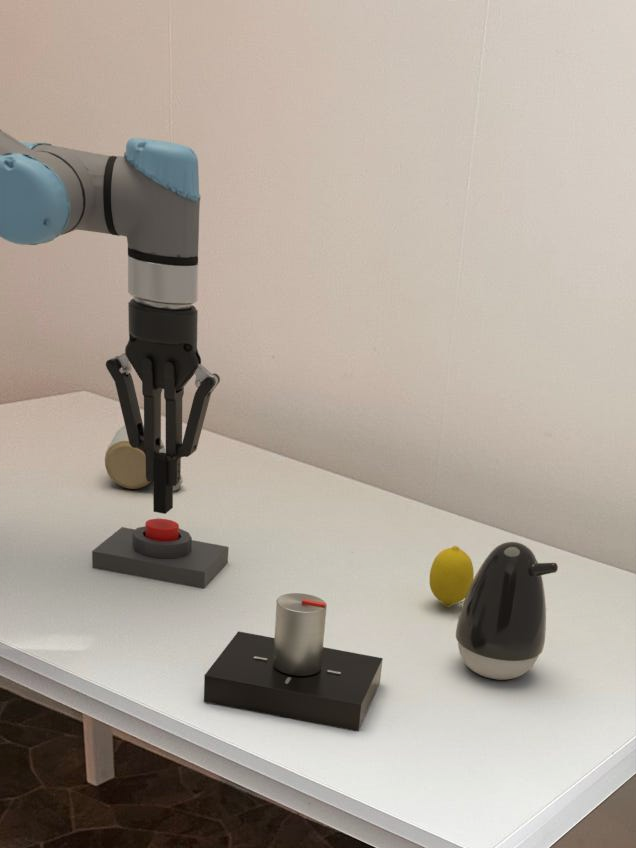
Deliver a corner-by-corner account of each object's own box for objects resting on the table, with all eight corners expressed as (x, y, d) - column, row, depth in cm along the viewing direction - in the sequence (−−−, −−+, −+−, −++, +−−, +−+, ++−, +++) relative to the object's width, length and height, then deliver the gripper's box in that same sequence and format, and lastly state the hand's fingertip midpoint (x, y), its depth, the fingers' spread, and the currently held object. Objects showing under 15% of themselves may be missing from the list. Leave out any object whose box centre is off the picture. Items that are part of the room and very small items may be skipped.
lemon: (452, 596, 155) (460, 537, 150) (477, 612, 151) (486, 552, 147) (417, 600, 152) (425, 540, 147) (441, 617, 148) (450, 555, 144)
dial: (267, 671, 121) (271, 603, 117) (279, 652, 125) (283, 586, 121) (315, 679, 121) (320, 612, 117) (325, 660, 125) (331, 595, 121)
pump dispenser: (514, 699, 131) (538, 567, 123) (434, 669, 135) (452, 539, 127) (554, 671, 139) (579, 547, 131) (477, 644, 143) (497, 521, 134)
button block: (92, 568, 144) (91, 536, 142) (122, 543, 153) (121, 513, 151) (204, 589, 144) (205, 557, 142) (228, 563, 153) (229, 532, 150)
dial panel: (203, 702, 120) (204, 673, 118) (237, 656, 130) (238, 629, 128) (358, 731, 119) (361, 703, 118) (379, 683, 130) (383, 656, 128)
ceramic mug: (102, 487, 169) (102, 433, 165) (113, 471, 176) (113, 419, 172) (177, 498, 171) (179, 445, 167) (185, 482, 178) (187, 430, 174)
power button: (140, 539, 145) (140, 525, 144) (151, 530, 148) (151, 516, 147) (172, 545, 145) (172, 531, 144) (183, 535, 148) (183, 522, 147)
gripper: (230, 307, 135) (224, 510, 148) (118, 287, 135) (122, 492, 148) (210, 316, 129) (205, 528, 141) (93, 295, 129) (99, 508, 142)
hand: (163, 509), depth 145 cm, fingers closed
